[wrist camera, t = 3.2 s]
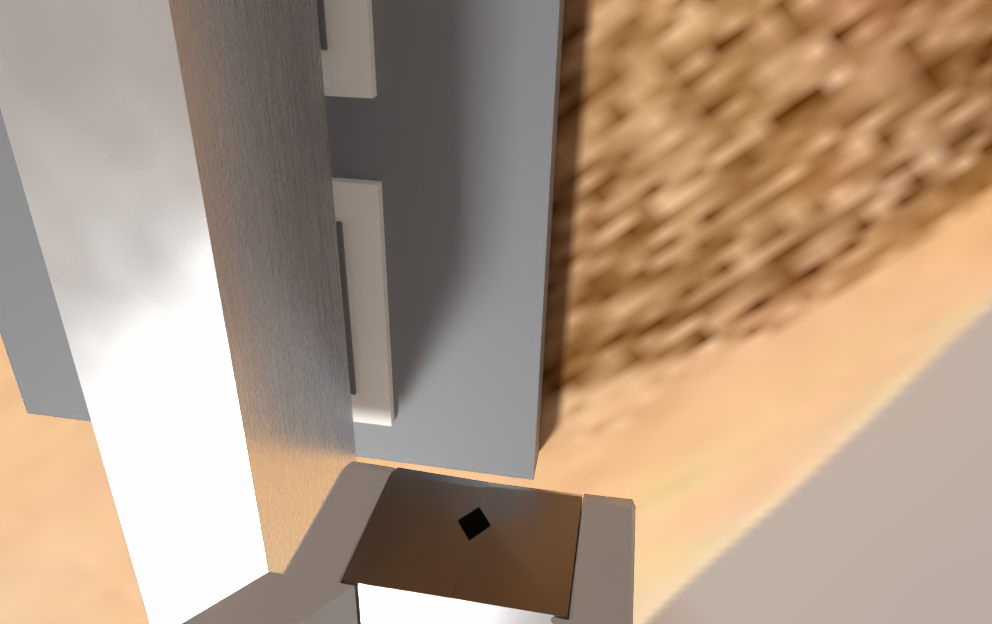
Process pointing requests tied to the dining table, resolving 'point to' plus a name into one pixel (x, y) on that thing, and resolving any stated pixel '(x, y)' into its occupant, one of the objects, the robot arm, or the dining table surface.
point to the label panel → (398, 231)
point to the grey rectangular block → (190, 269)
